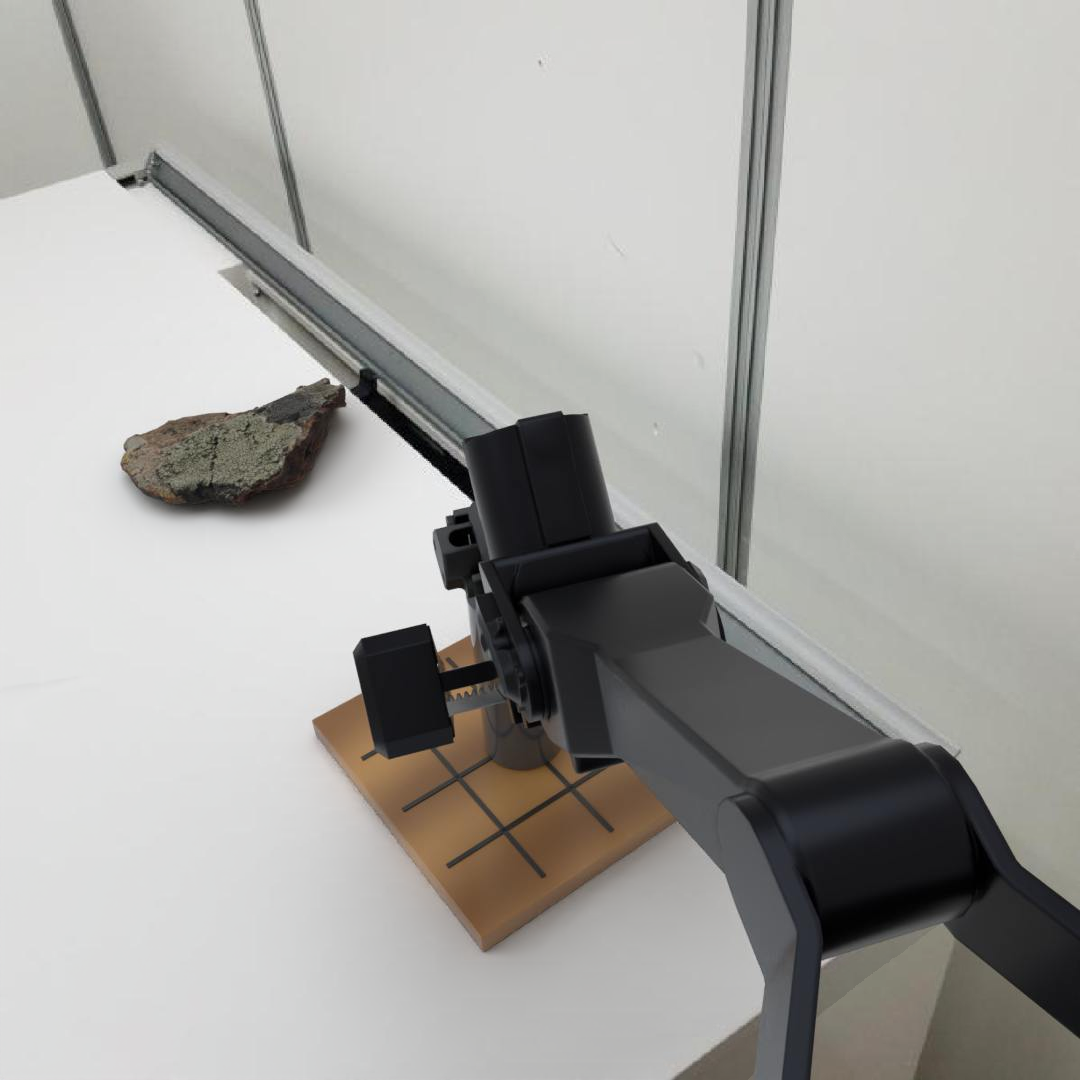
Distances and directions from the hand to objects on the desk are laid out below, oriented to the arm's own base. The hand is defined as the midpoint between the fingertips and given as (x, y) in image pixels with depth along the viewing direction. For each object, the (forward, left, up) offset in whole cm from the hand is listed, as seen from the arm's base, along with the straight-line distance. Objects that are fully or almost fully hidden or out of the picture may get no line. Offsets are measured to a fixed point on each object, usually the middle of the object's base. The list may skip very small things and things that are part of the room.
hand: (517, 658), depth 68 cm
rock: (+40, +15, -10) cm, 44 cm away
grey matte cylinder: (0, 0, -8) cm, 8 cm away
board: (+1, 0, -9) cm, 9 cm away
